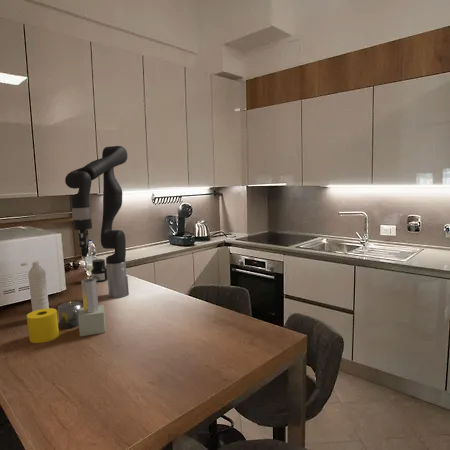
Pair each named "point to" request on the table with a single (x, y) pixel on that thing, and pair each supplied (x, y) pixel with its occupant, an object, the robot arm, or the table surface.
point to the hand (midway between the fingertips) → (85, 255)
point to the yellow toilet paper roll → (42, 325)
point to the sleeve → (90, 295)
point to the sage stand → (91, 322)
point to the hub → (69, 314)
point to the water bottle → (37, 286)
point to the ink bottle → (99, 270)
